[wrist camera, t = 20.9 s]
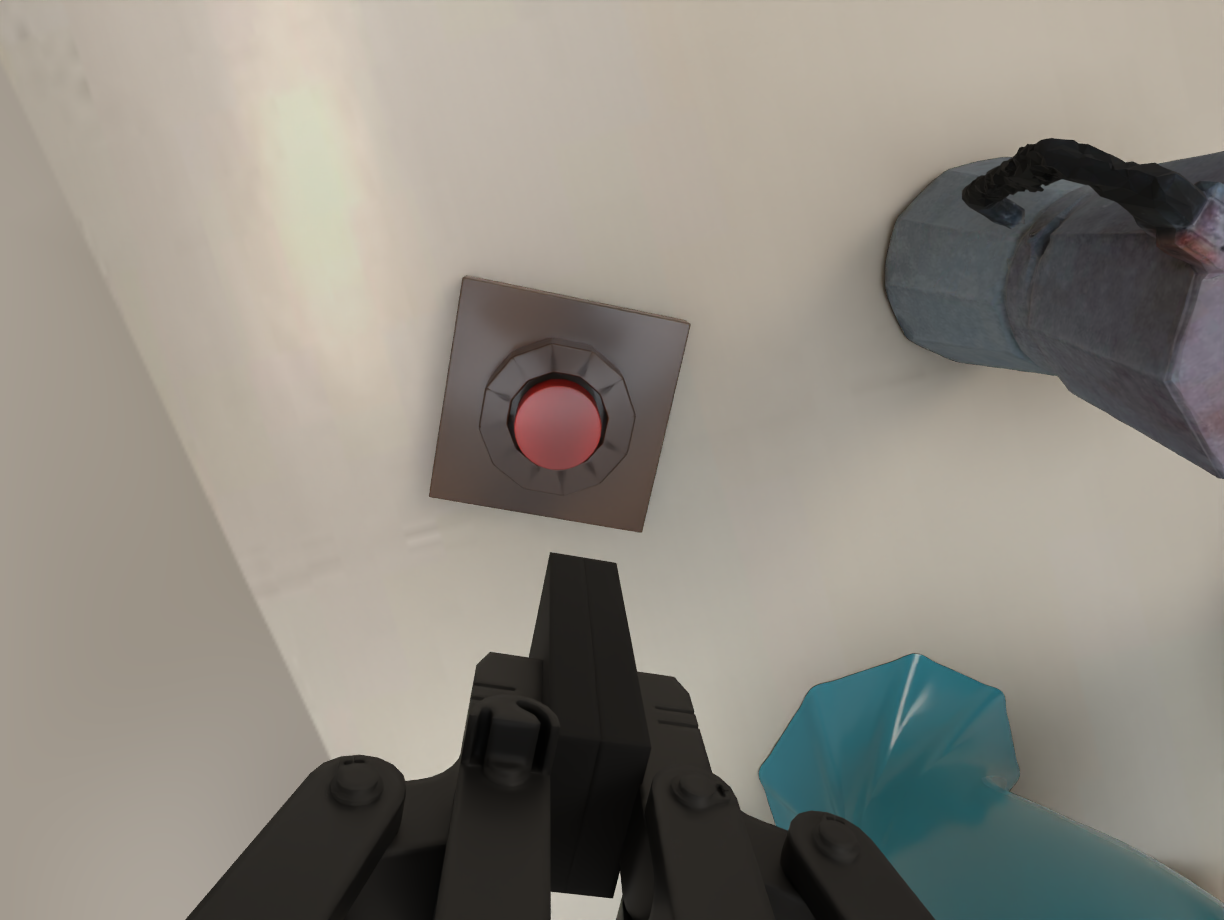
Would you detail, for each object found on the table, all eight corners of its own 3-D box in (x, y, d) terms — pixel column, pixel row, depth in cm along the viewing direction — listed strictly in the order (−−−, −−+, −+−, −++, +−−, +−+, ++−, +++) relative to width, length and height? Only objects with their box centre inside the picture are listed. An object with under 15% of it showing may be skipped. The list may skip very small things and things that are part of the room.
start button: (508, 451, 35) (506, 462, 33) (523, 371, 34) (522, 377, 32) (590, 466, 35) (592, 477, 34) (607, 387, 34) (609, 394, 33)
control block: (432, 488, 38) (422, 511, 35) (465, 275, 35) (458, 280, 32) (639, 524, 39) (646, 548, 36) (686, 320, 36) (698, 329, 33)
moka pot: (1050, 420, 39) (1535, 613, 20) (770, 296, 36) (1020, 381, 17) (1158, 232, 37) (1824, 245, 18) (869, 84, 34) (1285, -92, 15)
